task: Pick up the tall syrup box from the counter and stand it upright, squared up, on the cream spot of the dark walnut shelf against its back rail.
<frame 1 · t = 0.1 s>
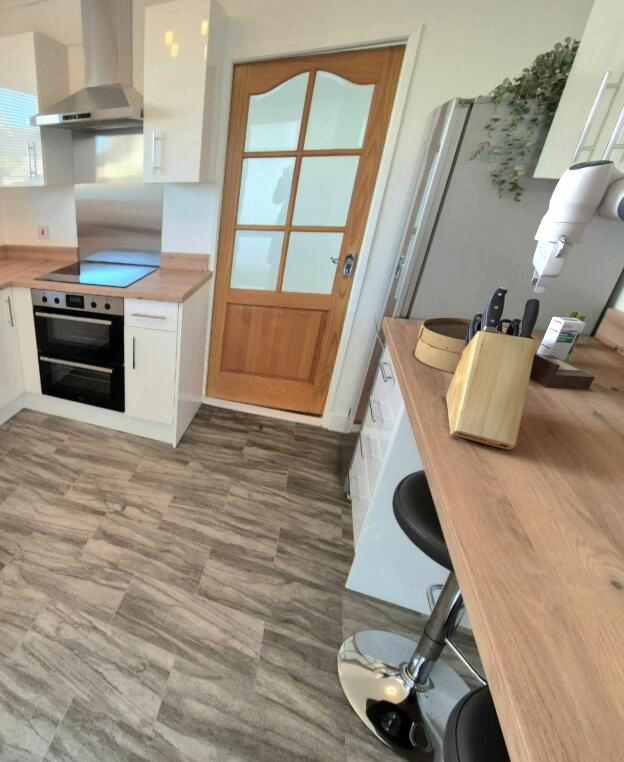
hand: (536, 288, 113), 29 cm above the table, tool pointing down, fingers open, 8 cm apart
steamer basket: (456, 361, 142), on the table
knife block: (472, 416, 110), on the table
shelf: (546, 376, 131), on the table
fennel bulb: (561, 344, 155), on the table
syrup box: (549, 361, 141), on the table
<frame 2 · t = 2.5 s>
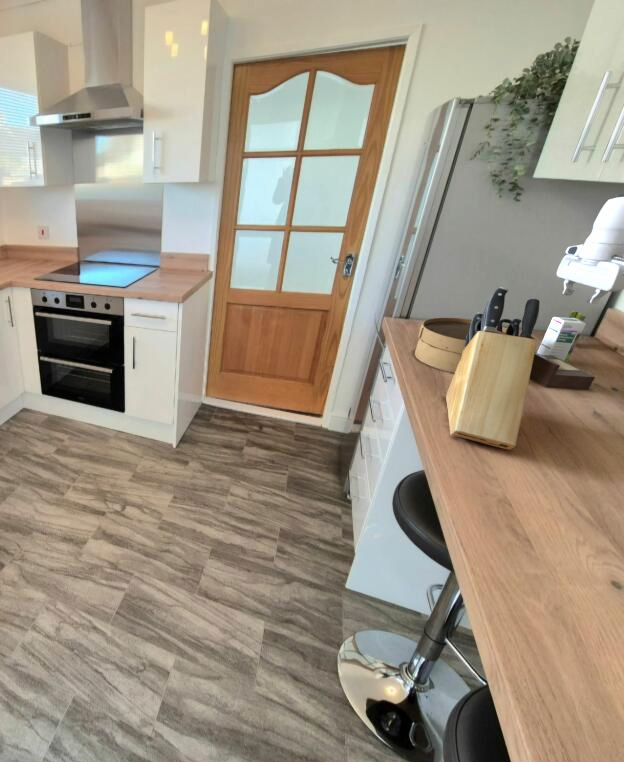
hand: (578, 298, 131), 21 cm above the table, tool pointing down, fingers open, 8 cm apart
nothing on the table moved.
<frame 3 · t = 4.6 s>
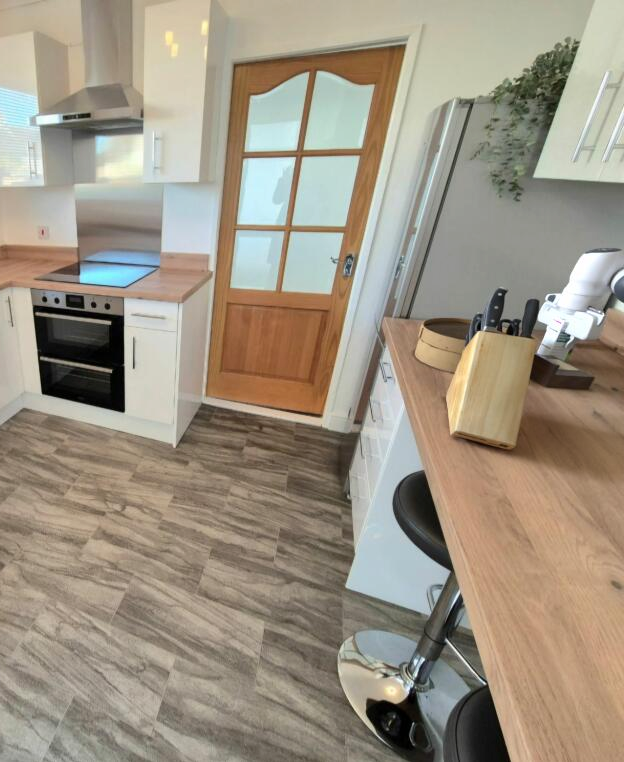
hand: (557, 344, 138), 6 cm above the table, tool pointing down, fingers closed on syrup box, 6 cm apart
syrup box: (549, 362, 141), on the table, touching gripper
everything else where it was.
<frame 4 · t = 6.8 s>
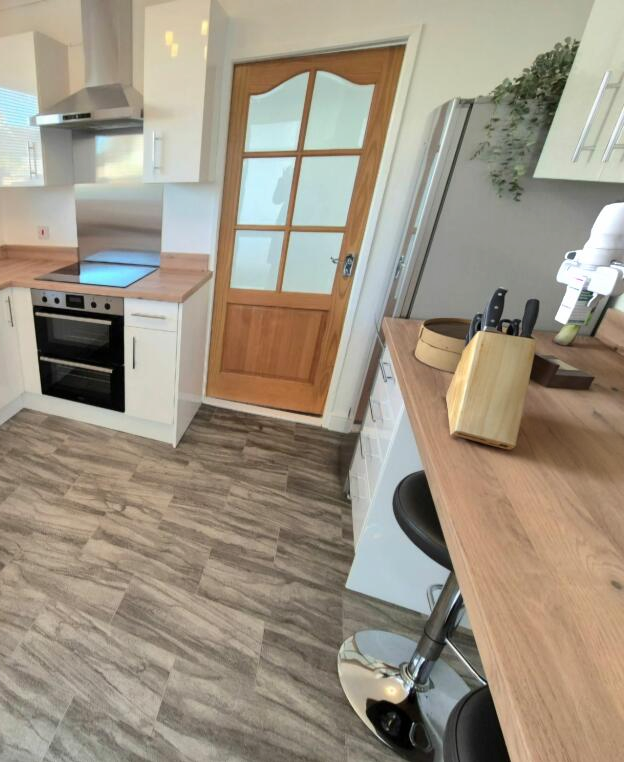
hand: (579, 303, 132), 20 cm above the table, tool pointing down, fingers closed on syrup box, 6 cm apart
syrup box: (570, 323, 135), point 13 cm above the table, touching gripper
everything else where it was.
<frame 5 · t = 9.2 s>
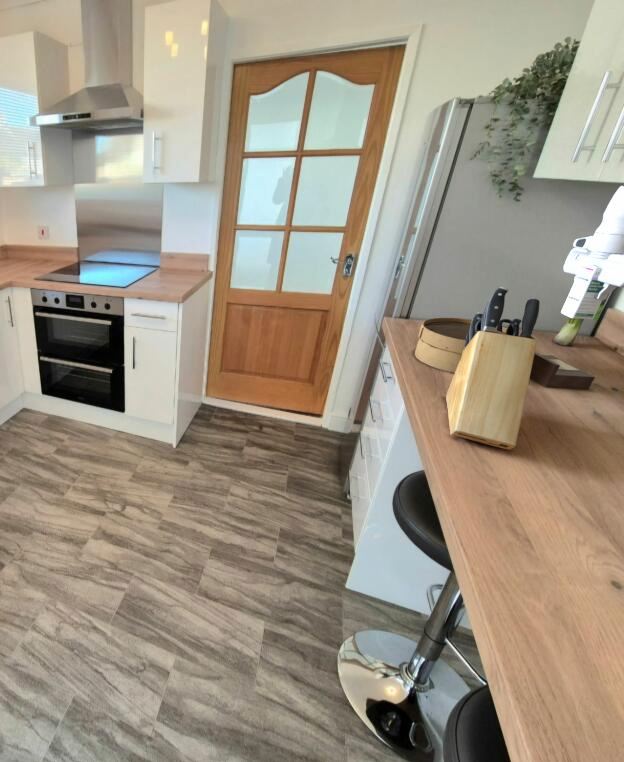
hand: (587, 295, 121), 25 cm above the table, tool pointing down, fingers closed on syrup box, 6 cm apart
syrup box: (577, 317, 123), point 19 cm above the table, touching gripper
everything else where it was.
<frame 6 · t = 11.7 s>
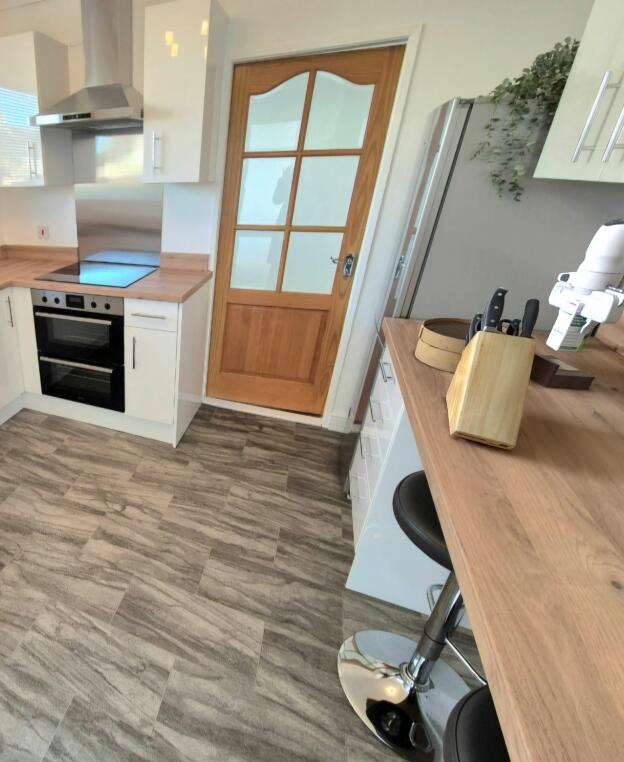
hand: (571, 328, 124), 15 cm above the table, tool pointing down, fingers closed on syrup box, 6 cm apart
syrup box: (561, 349, 127), point 9 cm above the table, touching gripper
everything else where it was.
when the fingers open (10 cm above the table, at t = 13.7 s): syrup box stays where it is, resting on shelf.
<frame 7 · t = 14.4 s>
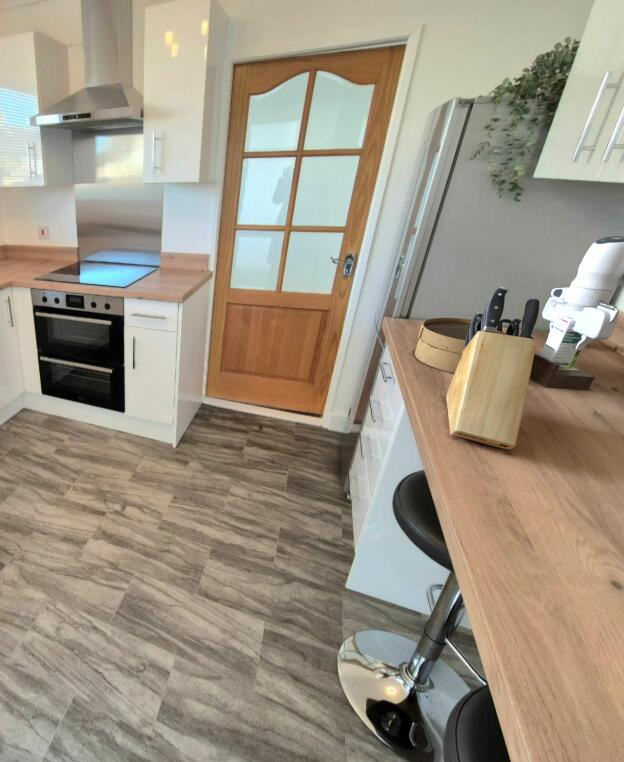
hand: (564, 343, 126), 11 cm above the table, tool pointing down, fingers open, 8 cm apart
syrup box: (553, 364, 129), point 4 cm above the table, touching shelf
everything else where it was.
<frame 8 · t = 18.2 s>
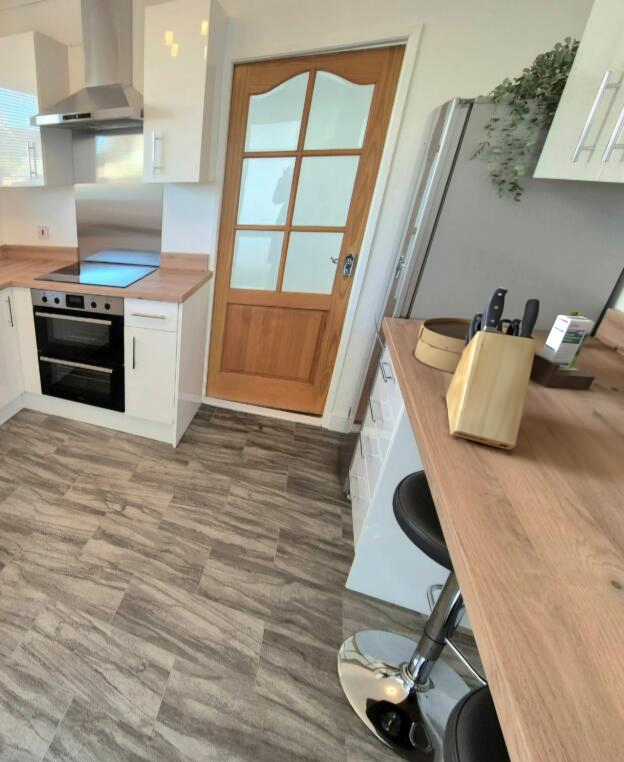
nothing on the table moved.
at the end: syrup box 0.0 cm off-centre on the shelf, point 4.0 cm above the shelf's base; syrup box tilted 0° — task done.
